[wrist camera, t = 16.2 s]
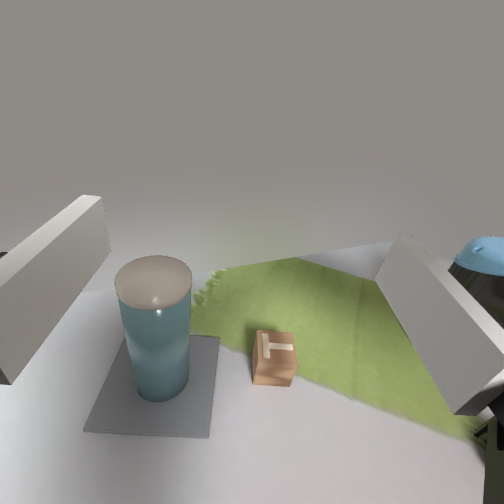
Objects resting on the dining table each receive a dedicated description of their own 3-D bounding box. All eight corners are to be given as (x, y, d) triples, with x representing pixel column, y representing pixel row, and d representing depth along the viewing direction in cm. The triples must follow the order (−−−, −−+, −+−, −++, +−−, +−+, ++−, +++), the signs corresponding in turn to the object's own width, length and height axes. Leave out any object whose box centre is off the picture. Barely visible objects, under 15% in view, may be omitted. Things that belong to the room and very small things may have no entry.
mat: (219, 339, 50) (219, 337, 50) (208, 438, 37) (208, 436, 36) (128, 331, 49) (128, 329, 48) (83, 431, 35) (82, 429, 35)
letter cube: (285, 354, 49) (292, 331, 46) (289, 387, 44) (298, 364, 41) (252, 352, 49) (257, 329, 45) (252, 384, 44) (258, 361, 40)
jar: (194, 354, 46) (197, 259, 35) (183, 405, 39) (183, 307, 28) (144, 350, 45) (130, 252, 34) (125, 400, 39) (100, 299, 27)
